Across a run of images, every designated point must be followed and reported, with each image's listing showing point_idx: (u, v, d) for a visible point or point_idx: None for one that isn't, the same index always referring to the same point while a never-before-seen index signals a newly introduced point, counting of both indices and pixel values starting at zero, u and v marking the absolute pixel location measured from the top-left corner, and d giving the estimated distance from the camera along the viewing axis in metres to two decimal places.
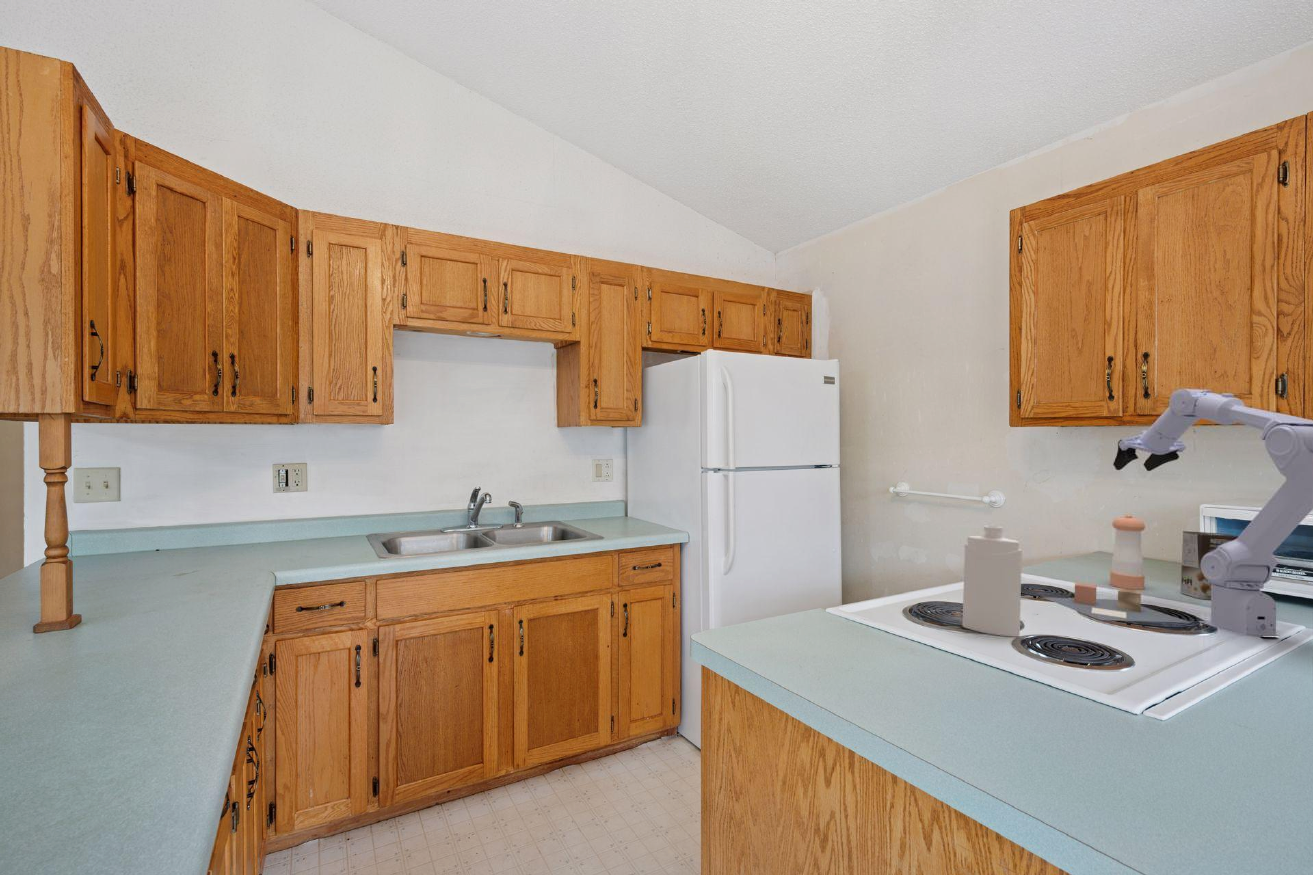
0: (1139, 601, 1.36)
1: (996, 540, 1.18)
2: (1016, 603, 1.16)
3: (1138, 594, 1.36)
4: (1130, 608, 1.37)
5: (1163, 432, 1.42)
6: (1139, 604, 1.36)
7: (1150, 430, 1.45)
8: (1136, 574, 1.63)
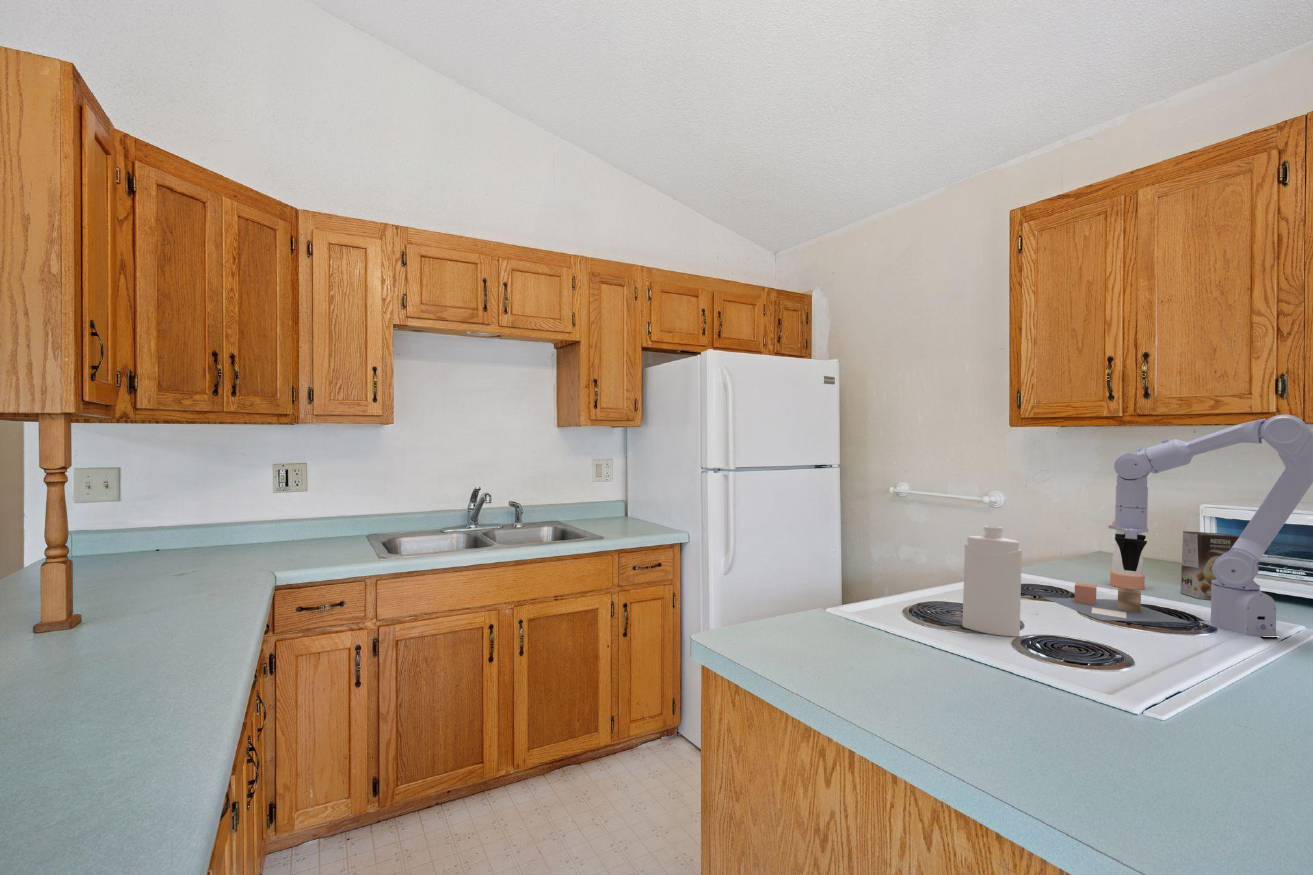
0: (1139, 601, 1.36)
1: (996, 540, 1.18)
2: (1016, 603, 1.16)
3: (1138, 594, 1.36)
4: (1130, 608, 1.37)
5: (1138, 504, 1.36)
6: (1139, 604, 1.36)
7: (1126, 512, 1.37)
8: (1136, 574, 1.63)
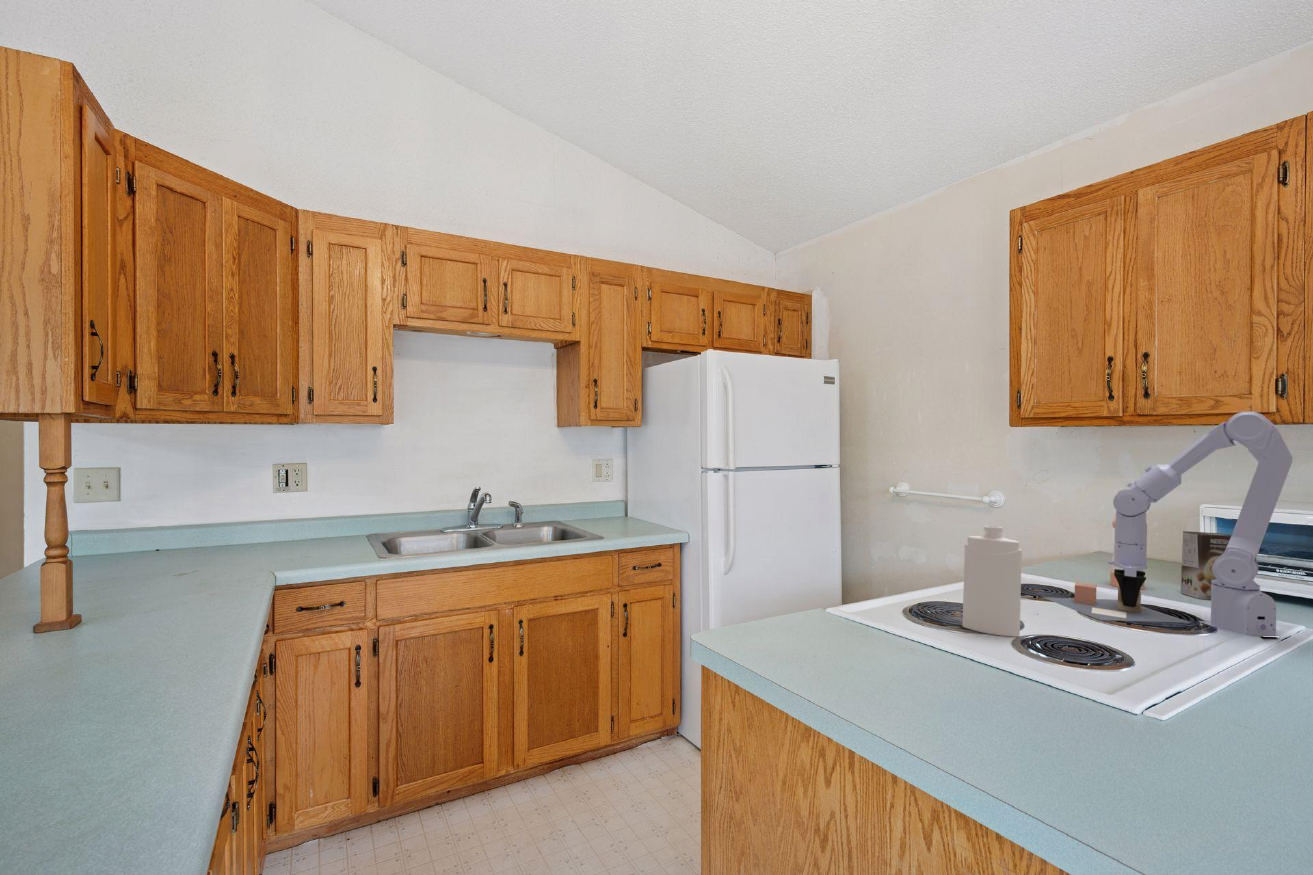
0: (1139, 601, 1.36)
1: (996, 540, 1.18)
2: (1016, 603, 1.16)
3: None
4: (1130, 608, 1.37)
5: (1137, 540, 1.36)
6: (1139, 604, 1.36)
7: (1125, 548, 1.37)
8: None
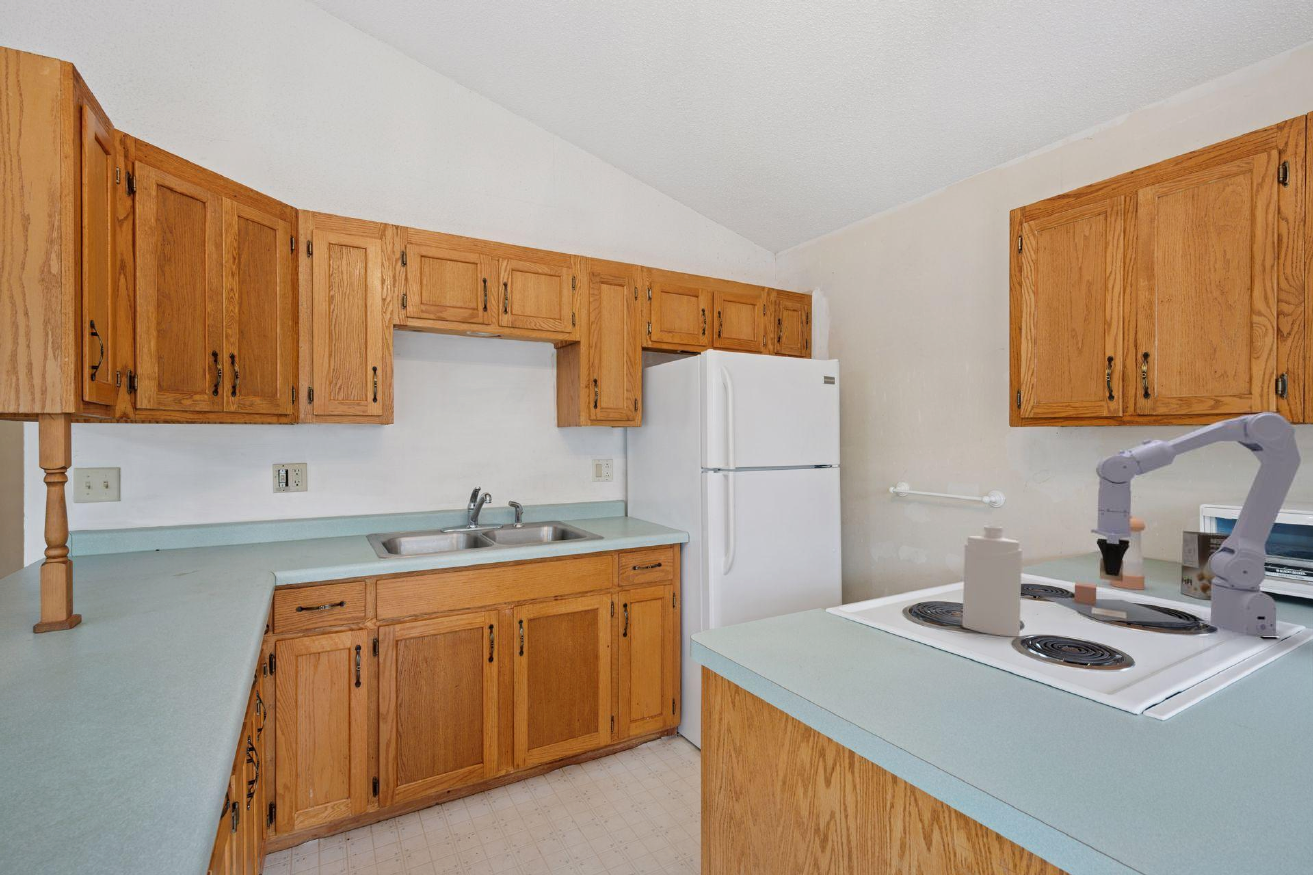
0: (1121, 570, 1.32)
1: (996, 540, 1.18)
2: (1016, 603, 1.16)
3: None
4: (1112, 578, 1.33)
5: (1126, 508, 1.32)
6: (1121, 573, 1.32)
7: (1108, 516, 1.34)
8: (1136, 574, 1.63)
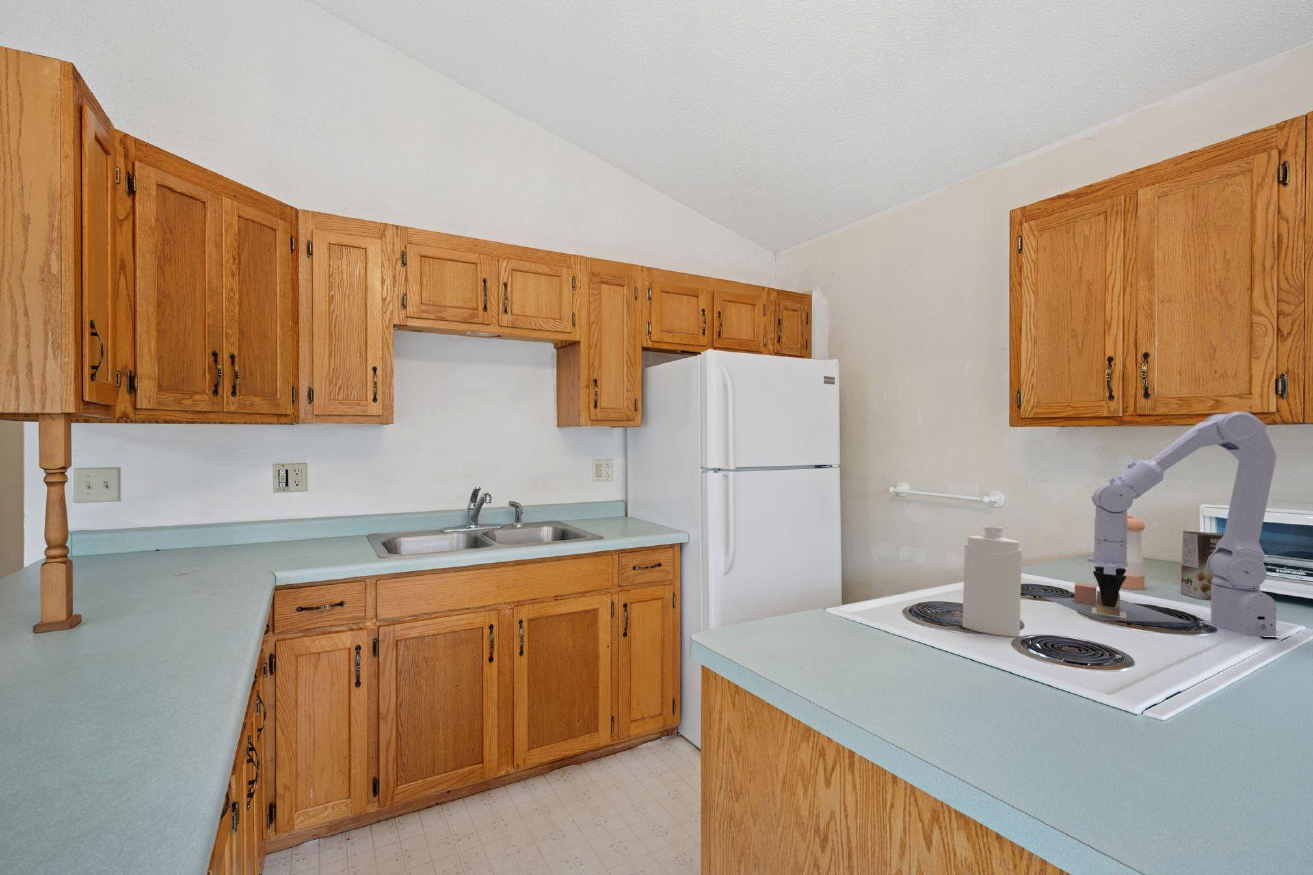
0: (1118, 604, 1.32)
1: (996, 540, 1.18)
2: (1016, 603, 1.16)
3: None
4: (1109, 612, 1.33)
5: (1123, 537, 1.32)
6: (1118, 607, 1.32)
7: (1105, 545, 1.33)
8: (1136, 574, 1.63)
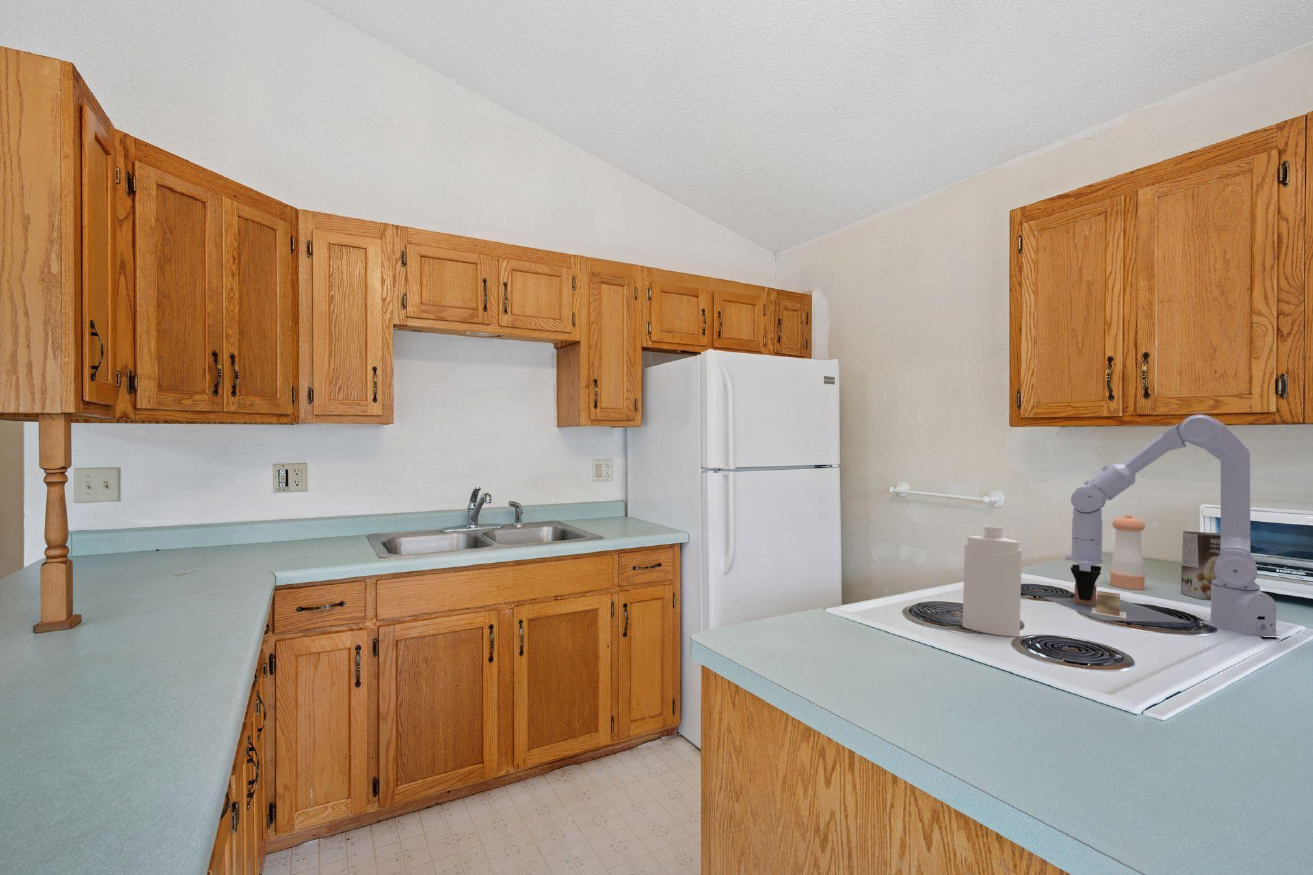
0: (1118, 604, 1.32)
1: (996, 540, 1.18)
2: (1016, 603, 1.16)
3: (1117, 597, 1.32)
4: (1109, 612, 1.33)
5: (1093, 536, 1.41)
6: (1118, 607, 1.32)
7: (1081, 544, 1.42)
8: (1136, 574, 1.63)
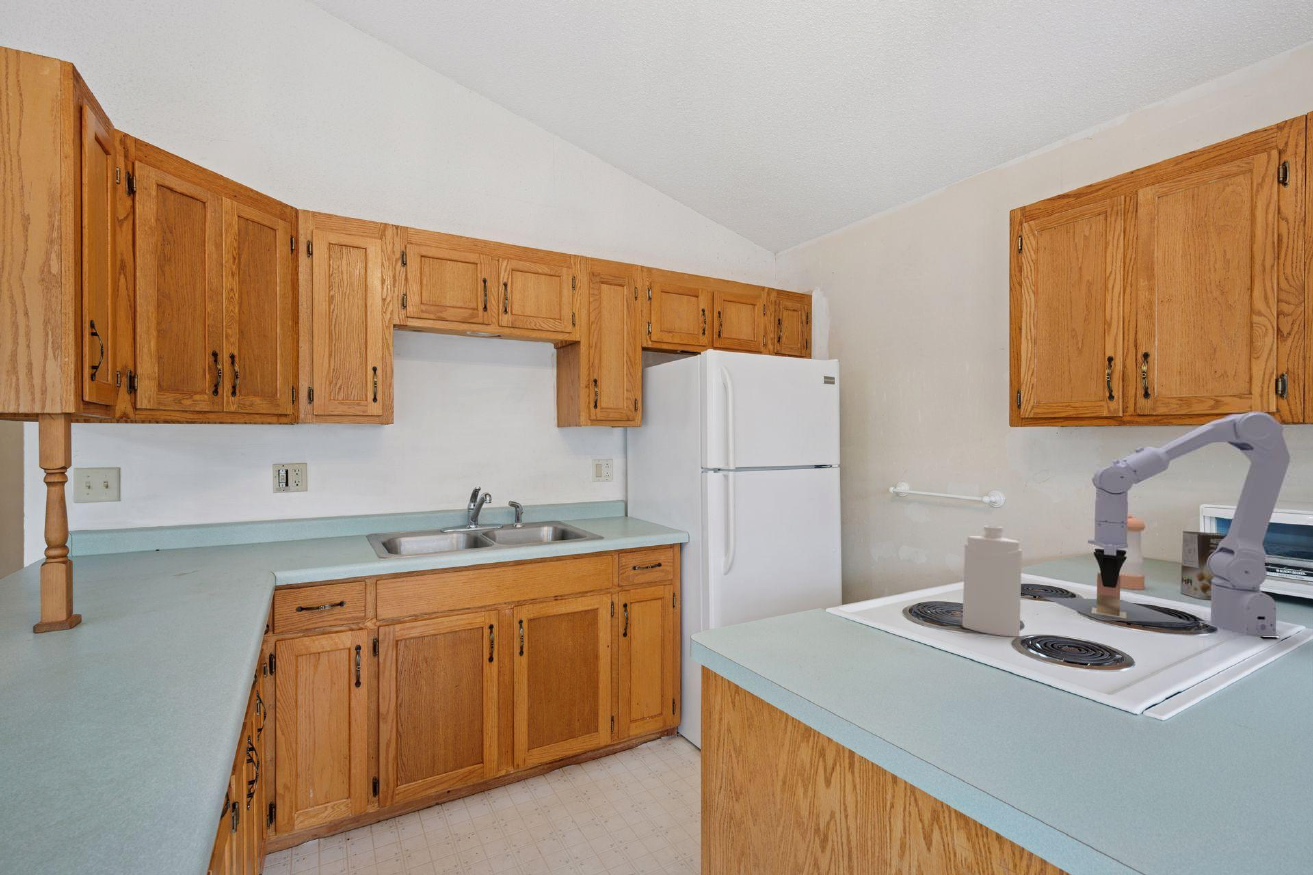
0: (1118, 604, 1.32)
1: (996, 540, 1.18)
2: (1016, 603, 1.16)
3: (1117, 597, 1.32)
4: (1109, 612, 1.33)
5: (1123, 518, 1.32)
6: (1118, 607, 1.32)
7: (1105, 527, 1.33)
8: (1136, 574, 1.63)
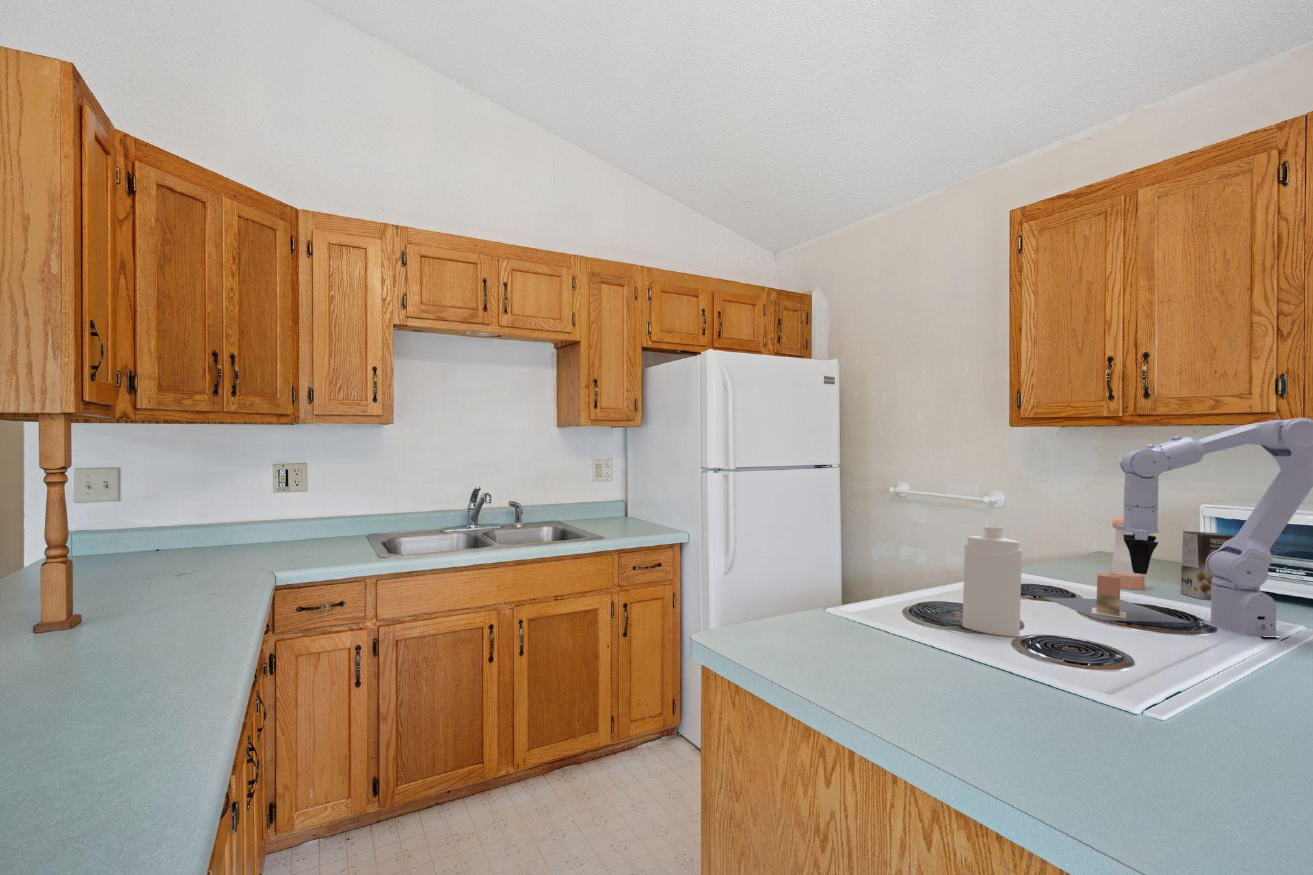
0: (1118, 604, 1.32)
1: (996, 540, 1.18)
2: (1016, 603, 1.16)
3: (1117, 597, 1.32)
4: (1109, 612, 1.33)
5: (1155, 503, 1.29)
6: (1118, 607, 1.32)
7: (1135, 511, 1.30)
8: (1136, 574, 1.63)
